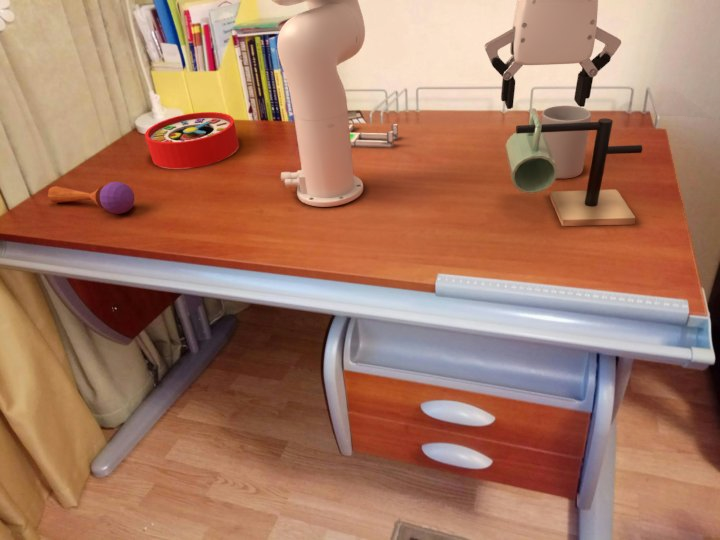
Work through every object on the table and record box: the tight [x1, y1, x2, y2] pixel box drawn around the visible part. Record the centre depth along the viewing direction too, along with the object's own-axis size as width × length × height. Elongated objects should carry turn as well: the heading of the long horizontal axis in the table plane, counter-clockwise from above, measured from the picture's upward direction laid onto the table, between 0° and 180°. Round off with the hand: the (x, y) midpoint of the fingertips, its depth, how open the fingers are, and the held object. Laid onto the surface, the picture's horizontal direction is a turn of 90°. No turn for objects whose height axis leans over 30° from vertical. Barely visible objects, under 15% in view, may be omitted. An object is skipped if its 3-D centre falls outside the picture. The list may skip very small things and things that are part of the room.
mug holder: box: [515, 117, 643, 227], centre depth 87 cm, size 19×10×15 cm, turn 85°
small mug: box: [504, 108, 558, 194], centre depth 88 cm, size 11×7×9 cm
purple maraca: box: [47, 181, 136, 215], centre depth 106 cm, size 6×6×20 cm
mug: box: [540, 105, 592, 180], centre depth 103 cm, size 12×8×11 cm
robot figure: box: [349, 123, 399, 149], centre depth 124 cm, size 16×3×22 cm
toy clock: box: [144, 111, 240, 170], centre depth 127 cm, size 20×6×20 cm
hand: (543, 104), depth 77 cm, fingers open, 9 cm apart
